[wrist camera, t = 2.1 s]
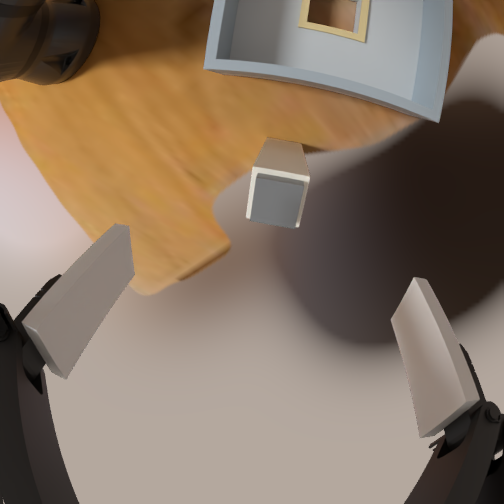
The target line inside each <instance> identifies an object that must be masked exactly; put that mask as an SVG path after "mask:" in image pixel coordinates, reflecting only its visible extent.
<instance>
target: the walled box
mask: <svg viewBox="0 0 504 504" xmlns="http://www.w3.org/2000/svg"><path fill="white" fill-rule="evenodd" d="M350 1H354V2H357V7H356V15H355V23H354V31H353V32H349V31H345V30H342V29H338V28H334V27H329V26H325V25H321V24H316V23H311V22H307V17H308V11H309V4H310V0H214V5H213V10H212V16H211V22H210V28H209V34H208V40H207V47H206V54H205V61H204V69H206V70H209V71H213V72H216V73H219V74H223V75H234V76H245V77H254V78H262V79H270V80H276V81H283V82H289V83H295V84H300V85H305V86H310V87H315V88H320V89H324V90H328V91H332V92H337V93H341V94H344V95H348V96H352V97H355V98H359V99H362V100H366V101H369V102H372V103H375V104H378V105H381V106H385V107H387V108H390V109H393V110H396V111H399V112H402V113H404V114H407V115H411V116H415V117H419V118H423V119H426V120H430V121H434V122H437V123H439V120H440V115H441V111H442V105H443V100H444V95H445V89H446V83H447V76H448V69H449V60H450V51H451V39H452V19H453V0H350Z"/></svg>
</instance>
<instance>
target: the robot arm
mask: <svg viewBox="0 0 504 504" xmlns="http://www.w3.org/2000/svg"><path fill="white" fill-rule="evenodd" d="M99 24H100V14H99V9H98V6H97V4H96V3H95V1H94V0H0V82H1V81H6V80H10V79H16V78H17V79H21V80H24V81H28V82H31V83H35V84H38V85H51V84H57V83H60V82H63V81H65V80H67V79H68V78H70V77H71V76H72V75H73V74H74V73H75V72H77V70H78V69H79V68H80V67H81V66H82V65H83V63H84V62H85V60H86V59H87V57H88V56H89V54H90V52H91V50H92V48H93V46H94V43H95V41H96V38H97V34H98V30H99ZM134 275H135V272H134V265H133V257H132V249H131V240H130V230H129V226H127V225H121V224H114V225H113V226H112V227H111V228H110V229H109V230H108V231H107V232H106V233H104V234H103V235H102V236H101V237H100V238H99V239H98V240H97V241H96V242H95V243H94V244H93V245H92V246H91V247H90V248H89V249H88V250H87V251H86V252H85V253H84V254H83V255H82V256H81V257H80V258H79V259H78V260H77V261H76V262H75V263H74V264H73V265H72V266H71V267H70V268H69V269H68V270H67V271H66V272H65V273H64V274H63V275H60V274H59V275H57V276H55V277H54V278H52V279H50V280H49V281H48V282H47V283H46V284H45V285H44V286H43V287H42V288H41V291H39V292H38V293H37V294H36V295H35V297H33V298H32V299H31V301H30V302H29V303H28V304H27V306H25V308H24V309H23V310H22V311H21V312H20V314H19V315H18V316H17V317H16V318H15V320H14V321H13V319H12V317H11V316H10V314H9V312H8V310H7V308H6V307H5V305H4V304H1V303H0V504H3V500H4V503H5V504H79V502H78V500H77V497H76V495H75V492H74V490H73V487H72V484H71V482H70V479H69V476H68V473H67V471H66V468H65V464H64V461H63V458H62V455H61V451H60V448H59V444H58V440H57V437H56V433H55V428H54V424H53V419H52V415H51V410H50V404H49V399H48V393H47V386H46V379H45V373H44V370H43V369H42V368H43V366H44V365H45V364H47V366H48V367H49V369H50V370H51V372H52V373H54V374H56V375H58V376H60V377H62V378H64V379H67V378H68V375H69V374H70V372H71V371H72V369H73V367H74V366H75V364H76V362H77V361H78V359H79V357H80V356H81V354H82V352H83V350H84V349H85V347H86V346H87V344H88V343H89V341H90V340H91V338H92V336H93V335H94V333H95V332H96V330H97V329H98V327H99V326H100V324H101V323H102V321H103V319H104V318H105V316H106V315H107V314H108V312H109V311H110V309H111V308H112V306H113V305H114V303H115V302H116V300H117V299H118V298H119V296H120V295H121V293H122V292H123V290H124V289H125V287H126V286H127V285H128V283H129V282H130V281H131V279H132V278H133V276H134ZM391 322H392V325H393V329H394V332H395V335H396V338H397V342H398V345H399V349H400V352H401V355H402V359H403V363H404V366H405V370H406V374H407V378H408V382H409V387H410V391H411V395H412V399H413V404H414V409H415V414H416V419H417V424H418V430H419V436H420V438H424V437H430V436H435V435H436V434H437V433H439V432H440V431H442V430H443V429H444V431H445V435H443V436H442V437H440V438H439V439H437V440H436V441H434V442H433V443H431V444H430V446H429V448H432V447H433V446H435V445H436V444H437V446H436V448H434V449H433V451H434V453H433V455H432V457H431V459H430V460H429V462H428V464H427V466H426V468H425V470H424V472H423V473H422V476H421V477H420V479H419V480H418V482H417V484H416V485H415V487H414V489H413V491H412V492H411V493H410V495H409V497H408V498H407V500H406V501H405V503H404V504H504V414H501V413H500V410H499V408H498V407H497V406H496V405H495V404H494V403H493V402H486V400H485V397H484V394H483V391H482V388H481V385H480V383H479V380H478V377H477V375H476V373H475V372H474V371H475V370H474V367H473V365H472V364H471V363H472V362H471V360H470V358H469V355H468V353H467V351H466V350H465V349H464V347H463V346H462V345H461V344H459V343H458V341H457V339H456V336H455V335H454V332H453V330H452V328H451V326H450V324H449V321H448V319H447V317H446V315H445V314H444V311H443V309H442V307H441V306H440V304H439V302H438V300H437V298H436V296H435V294H434V292H433V290H432V288H431V287H430V285H429V283H428V281H427V280H426V279H421V278H416V277H414V278H413V280H412V282H411V284H410V286H409V288H408V290H407V292H406V294H405V295H404V297H403V299H402V301H401V303H400V305H399V306H398V308H397V310H396V312H395V313H394V315H393V317H392V318H391ZM501 450H503V454H502V456H501V457H500V458H498V459H496V460H495V459H494V455H495V454H497V453H498V452H500V451H501Z"/></svg>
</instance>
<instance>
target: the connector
mask: <svg viewBox="0 0 504 504" xmlns="http://www.w3.org/2000/svg"><path fill="white" fill-rule="evenodd" d="M309 180H310V174H309V170H308V166H307V163H306V159H305V155H304V152H303V148H302V145H301V143H296V142H291V141H285V140H280V139H274V138H268V137H267V139H266V141H265V143H264V145H263V147H262V149H261V151H260V153H259V155H258V157H257V159H256V161H255V163H254V165H253V169H252V176H251V184H250V191H249V198H248V205H247V213H246V218H250V221H253V222H259V223H265V224H271V225H276V226H282V227H287V228H292V229H295V227H299V224H300V220H301V216H302V211H303V207H304V203H305V198H306V194H307V189H308V185H309Z"/></svg>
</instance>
